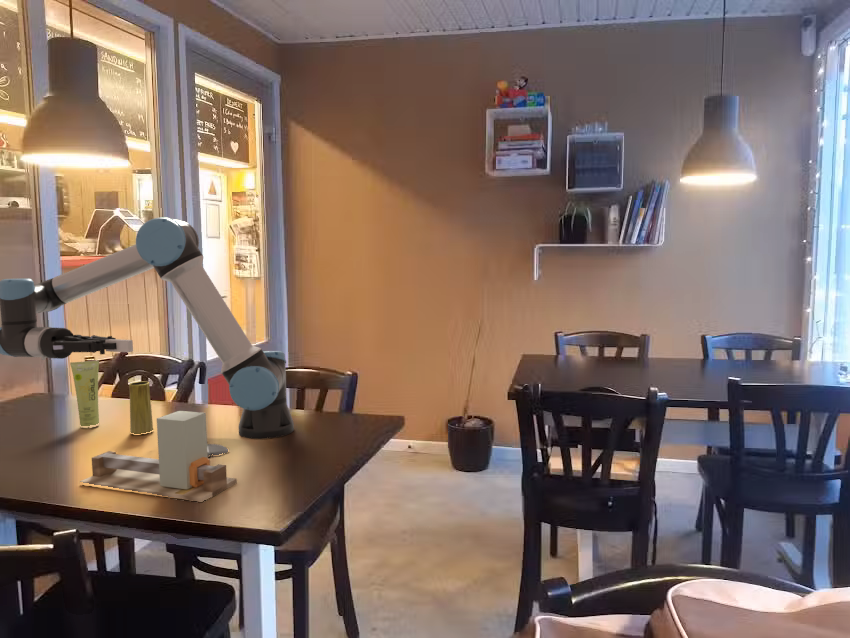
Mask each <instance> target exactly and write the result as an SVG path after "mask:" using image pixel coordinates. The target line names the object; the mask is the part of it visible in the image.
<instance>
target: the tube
mask: <svg viewBox="0 0 850 638" xmlns="http://www.w3.org/2000/svg"><path fill="white" fill-rule="evenodd" d="M69 364H70V369H71V372H72V376H73V377H72V378H73V382H74V388H75V395H76V402H77V403H76V404H77V409H78V418H79V425H81V426H90V425H96V424H98V423H99V424H100V413H99V412H100V411H99V367H100V359H99V360H97V359H96V360H88V361H75V362H73V361H72V362H69Z"/></svg>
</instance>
